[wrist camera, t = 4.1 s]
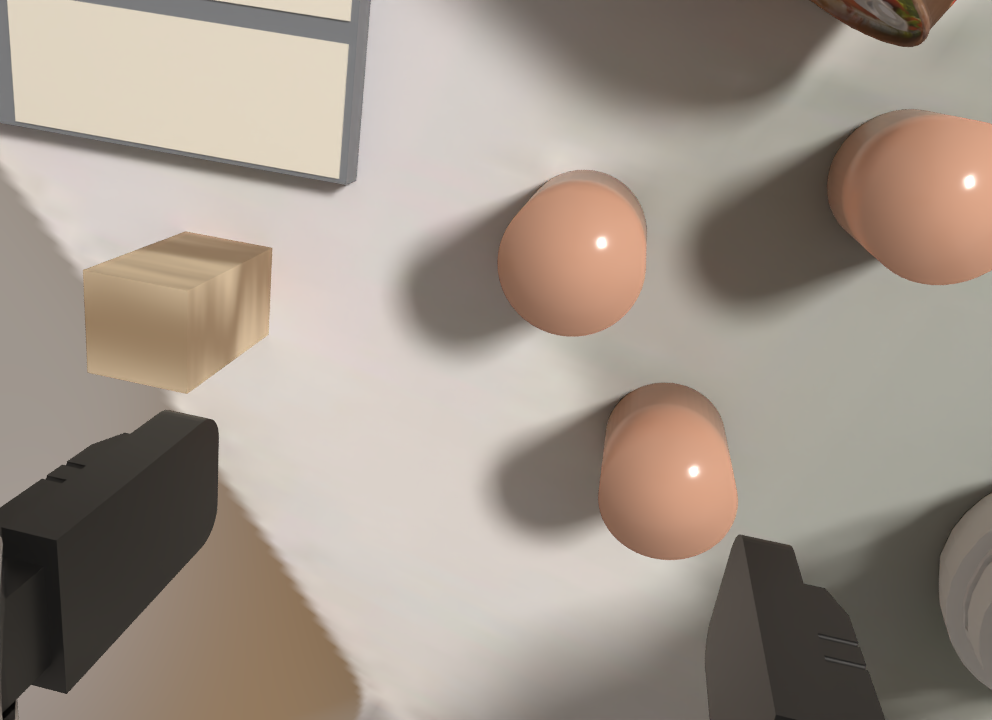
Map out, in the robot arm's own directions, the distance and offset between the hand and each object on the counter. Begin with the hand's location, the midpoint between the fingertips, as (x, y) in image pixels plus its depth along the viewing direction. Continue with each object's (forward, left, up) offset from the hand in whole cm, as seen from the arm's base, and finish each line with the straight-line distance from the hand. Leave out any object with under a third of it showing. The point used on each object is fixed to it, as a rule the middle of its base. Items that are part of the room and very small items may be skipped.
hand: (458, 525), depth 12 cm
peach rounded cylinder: (-4, +11, -22) cm, 25 cm away
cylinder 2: (+8, +5, -22) cm, 24 cm away
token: (+5, -15, -22) cm, 27 cm away
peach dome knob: (0, 0, -22) cm, 22 cm away
